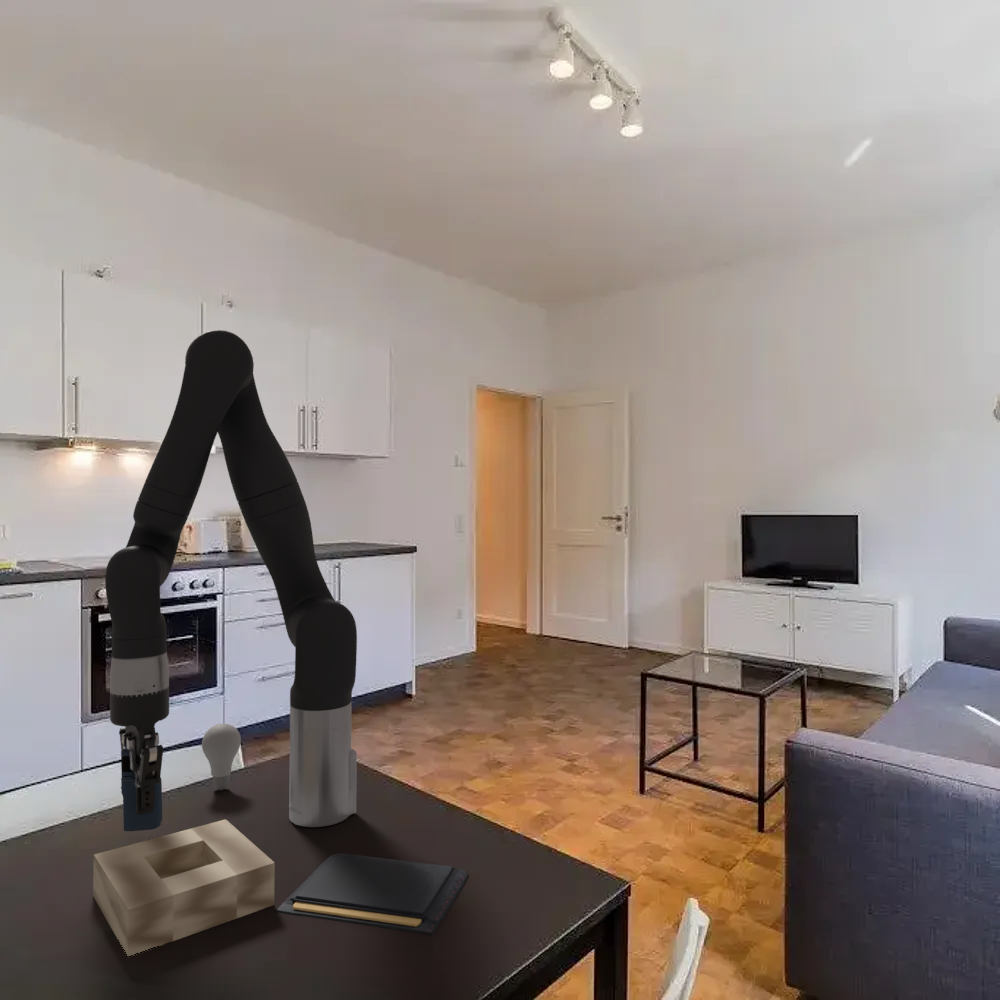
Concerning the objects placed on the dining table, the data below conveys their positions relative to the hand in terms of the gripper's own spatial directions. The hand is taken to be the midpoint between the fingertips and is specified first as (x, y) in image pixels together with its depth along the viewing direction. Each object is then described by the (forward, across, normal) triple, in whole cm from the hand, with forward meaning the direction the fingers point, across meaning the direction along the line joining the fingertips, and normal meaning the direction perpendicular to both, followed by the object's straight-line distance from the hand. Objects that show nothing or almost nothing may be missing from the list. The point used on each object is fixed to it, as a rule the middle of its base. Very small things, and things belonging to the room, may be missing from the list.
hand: (141, 807), depth 104 cm
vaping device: (+3, 0, 0) cm, 3 cm away
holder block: (+5, -20, 0) cm, 21 cm away
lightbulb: (+5, +12, -15) cm, 20 cm away
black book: (+6, -33, -19) cm, 38 cm away
